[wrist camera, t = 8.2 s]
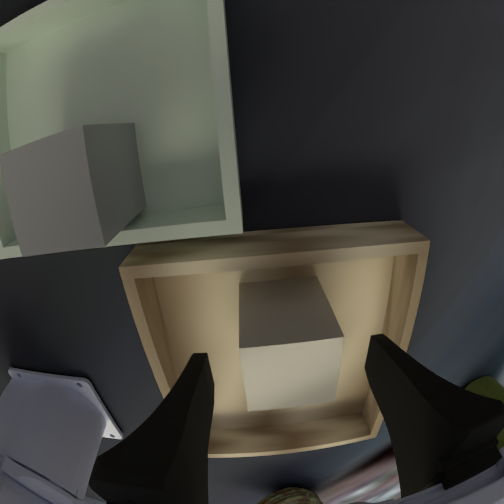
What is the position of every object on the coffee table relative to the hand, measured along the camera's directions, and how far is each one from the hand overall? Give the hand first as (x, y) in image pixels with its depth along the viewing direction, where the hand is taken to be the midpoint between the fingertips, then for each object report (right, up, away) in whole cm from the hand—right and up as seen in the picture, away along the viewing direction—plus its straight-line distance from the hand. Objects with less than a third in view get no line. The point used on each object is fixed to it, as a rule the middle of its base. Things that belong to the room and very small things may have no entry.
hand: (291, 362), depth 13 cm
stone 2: (0, +2, +4) cm, 4 cm away
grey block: (-9, +9, 0) cm, 12 cm away
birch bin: (0, -1, +6) cm, 6 cm away
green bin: (-9, +12, 0) cm, 15 cm away
